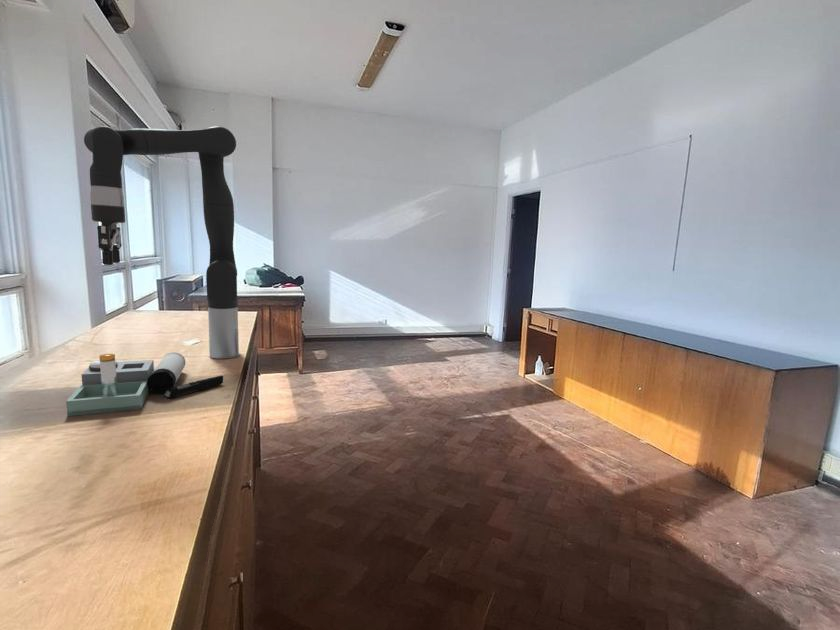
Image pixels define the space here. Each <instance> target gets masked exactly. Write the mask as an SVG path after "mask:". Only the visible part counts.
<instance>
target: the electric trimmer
mask: <svg viewBox="0 0 840 630" xmlns="http://www.w3.org/2000/svg"><path fill="white" fill-rule="evenodd" d="M223 382H224V375H218V376H214V377H208V378H205V379H200V380H197V381H192V382H189V383H185V384H181V385H177V386H176V385H174V386H172V387H171V388H167V389H166V391H165V393H164V394H162V396H163V398H164V397H165V398H164V399H166V398H167V400H168V399H170V400H174V399H175V398H177V397H181V396H185V395H188V394H192V393H194V392H204V391H206V390H208V389H212V388H214V387H217V386H220V385H221V384H223Z"/></svg>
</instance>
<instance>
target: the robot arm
mask: <svg viewBox="0 0 840 630" xmlns="http://www.w3.org/2000/svg"><path fill="white" fill-rule="evenodd" d="M83 143H84V145H85V147H86V148H87V150H89V152H90V153H92V163H91V165H90V168H89V182H90V183H89V185H90V191H89V192H90V193H89V199H90V211H91V213H90V214H91V220H92V221H93V222H99V223H101V225H97V227H96V228H97V238H98V239H97V240H98V243H97V245H98V249H100V251H101V257H102V264H103V265H104V266H113V264H119V263H120V262H121V256H120V250H121V248H122V246H123V244H122V236H121V227H120V226H118V225H117V224H118V223H120V224H123V223H126V212H125V211H126V210H125V209H126V207H125V196H124V191H123V181H122V168H123V160H124V158H123V157H124V156H127V155H128V156H130V155H135V156H160V155H161V156H162V155H175V154H183V153H198V159H199V164H200V170H201V187H202V207H203V218H204V219H203V220H204V226H205V230H206V234H207V239H208V242H209V263H208V266H207V269H206V271H205V272H206V273H205V279H206V281H205V283H206V299H207V313H208V344H209V345H208V346H209V357H210V358H212V359H219V360H220V359H222V360H223V359H224V360H225V359H232V358H235V357H237V358H238V357H239V356H240V355H239V354H240V352H239V351H240V349H239V348H240V347H239V343H240V342H239V313H238V312H239V311H238V309H239V308H238V304H239V303H238V300H239V299H238V279H237V278H238V268H237V265H236V259H235V253H234V251H235V250H234V236H235V206H234V205H235V204H234V198H233V195H232V193H231V190H230V188H229V186H228V183H227V180H226V177H225V172H224V171H225V170H224V167H225V166H224V159H225V157H229V156H230V155H232V154H233V153H234V151H235V150H236V147H237V141H236V137H235V135H234V134H233V132H232V131H230V130H229V129H228V128H225V127H223V126H219V125H218V126H217V125H215V126H210V127H207V128H201V129H165V128H162V129H161V128H129V129H114V128H112V127H111V126H110V127H109V126H105V125H101V126H96V127H94V128H91V129H89V130H88V131H86V133H85V134H84V137H83Z"/></svg>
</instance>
